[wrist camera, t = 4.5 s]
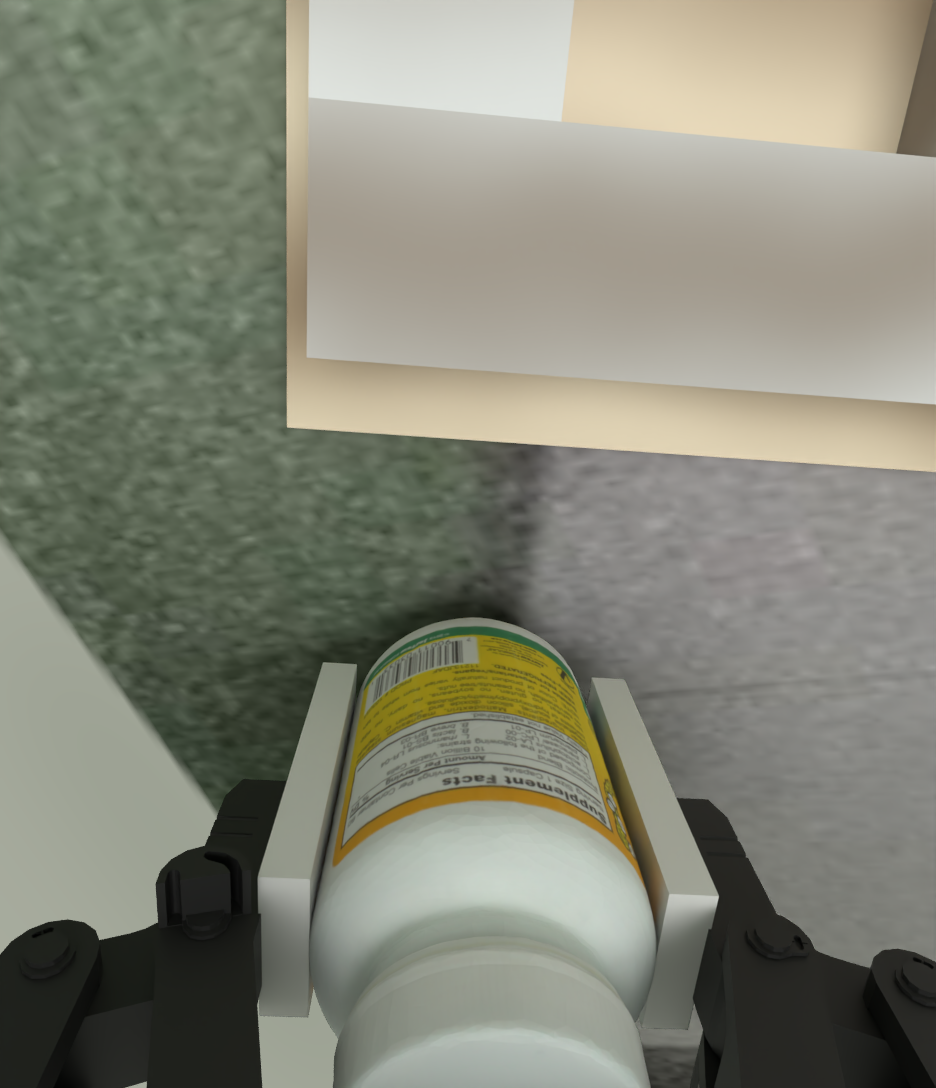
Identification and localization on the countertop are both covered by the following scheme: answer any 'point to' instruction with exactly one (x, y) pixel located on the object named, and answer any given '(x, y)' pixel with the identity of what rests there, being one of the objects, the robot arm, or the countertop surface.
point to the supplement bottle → (479, 878)
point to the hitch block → (616, 224)
